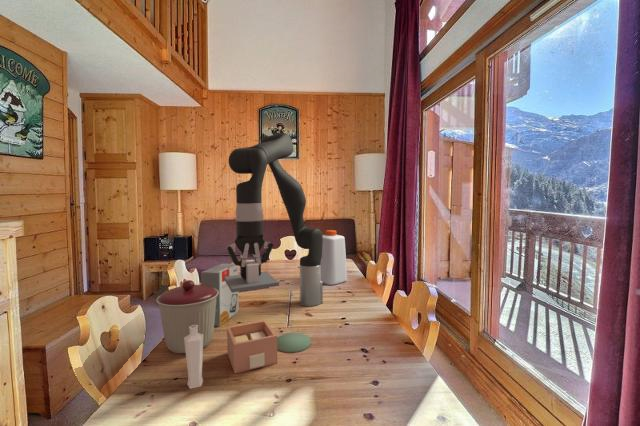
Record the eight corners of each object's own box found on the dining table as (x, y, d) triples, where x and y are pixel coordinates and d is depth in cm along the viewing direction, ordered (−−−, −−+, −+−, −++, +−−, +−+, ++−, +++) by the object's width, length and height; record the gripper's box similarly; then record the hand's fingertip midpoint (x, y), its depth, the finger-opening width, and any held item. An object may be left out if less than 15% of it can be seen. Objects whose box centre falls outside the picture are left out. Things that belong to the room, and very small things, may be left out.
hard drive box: (219, 327, 111) (218, 273, 109) (200, 325, 112) (199, 272, 111) (239, 311, 126) (238, 263, 125) (222, 310, 127) (221, 262, 126)
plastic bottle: (311, 280, 170) (311, 230, 168) (331, 275, 180) (331, 228, 178) (331, 286, 159) (331, 233, 157) (350, 281, 169) (350, 230, 167)
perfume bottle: (188, 378, 80) (187, 323, 79) (206, 378, 80) (204, 322, 79) (182, 390, 75) (180, 331, 74) (200, 389, 76) (198, 330, 75)
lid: (266, 277, 98) (266, 256, 97) (279, 289, 86) (279, 264, 85) (224, 283, 92) (223, 260, 92) (231, 296, 80) (231, 270, 80)
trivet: (302, 331, 107) (302, 330, 107) (317, 347, 96) (317, 345, 96) (269, 339, 102) (269, 337, 102) (280, 356, 91) (280, 354, 91)
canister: (191, 365, 86) (189, 292, 85) (144, 354, 92) (141, 285, 91) (231, 337, 103) (230, 275, 102) (189, 329, 109) (187, 271, 108)
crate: (266, 344, 98) (265, 320, 98) (278, 364, 87) (278, 337, 86) (227, 352, 93) (226, 327, 92) (235, 375, 81) (234, 346, 81)
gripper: (269, 217, 94) (270, 272, 95) (222, 219, 88) (223, 278, 89) (277, 219, 87) (277, 278, 88) (226, 221, 81) (227, 284, 82)
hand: (250, 277), depth 89 cm, fingers closed on lid, 3 cm apart
